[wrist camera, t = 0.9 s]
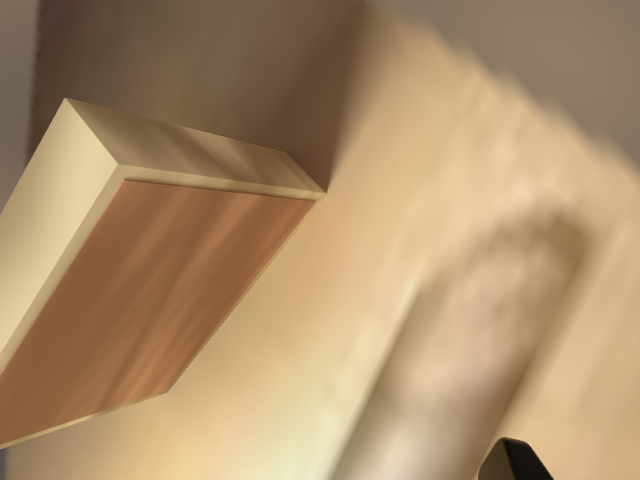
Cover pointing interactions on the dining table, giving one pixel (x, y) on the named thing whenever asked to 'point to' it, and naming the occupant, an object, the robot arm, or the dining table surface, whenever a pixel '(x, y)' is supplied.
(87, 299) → the brown tile
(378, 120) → the dining table surface
